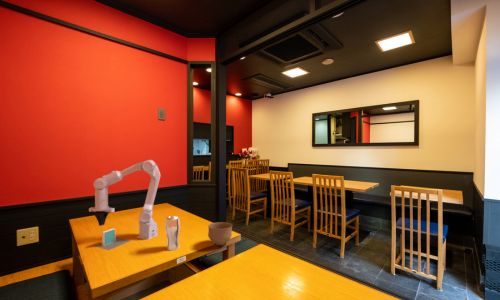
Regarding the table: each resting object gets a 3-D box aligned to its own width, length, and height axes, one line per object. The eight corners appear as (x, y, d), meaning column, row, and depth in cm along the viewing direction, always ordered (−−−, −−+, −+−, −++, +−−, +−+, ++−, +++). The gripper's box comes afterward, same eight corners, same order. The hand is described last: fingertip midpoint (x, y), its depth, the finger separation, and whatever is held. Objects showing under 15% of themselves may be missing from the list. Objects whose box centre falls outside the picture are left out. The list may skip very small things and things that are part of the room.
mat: (131, 241, 115) (131, 240, 115) (108, 251, 104) (108, 250, 104) (116, 238, 120) (116, 237, 120) (94, 247, 109) (94, 246, 109)
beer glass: (164, 251, 102) (164, 220, 102) (166, 245, 109) (166, 216, 109) (179, 249, 104) (179, 219, 104) (180, 243, 111) (180, 215, 111)
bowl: (237, 241, 112) (237, 222, 112) (222, 251, 101) (221, 230, 102) (219, 236, 119) (218, 219, 119) (203, 245, 108) (202, 226, 108)
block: (115, 241, 114) (115, 228, 114) (104, 246, 108) (104, 232, 108) (113, 240, 115) (113, 228, 115) (102, 245, 109) (101, 231, 109)
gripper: (118, 198, 117) (119, 223, 117) (97, 198, 120) (97, 221, 119) (108, 201, 110) (108, 227, 110) (85, 200, 113) (85, 226, 113)
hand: (101, 225), depth 114 cm, fingers closed
